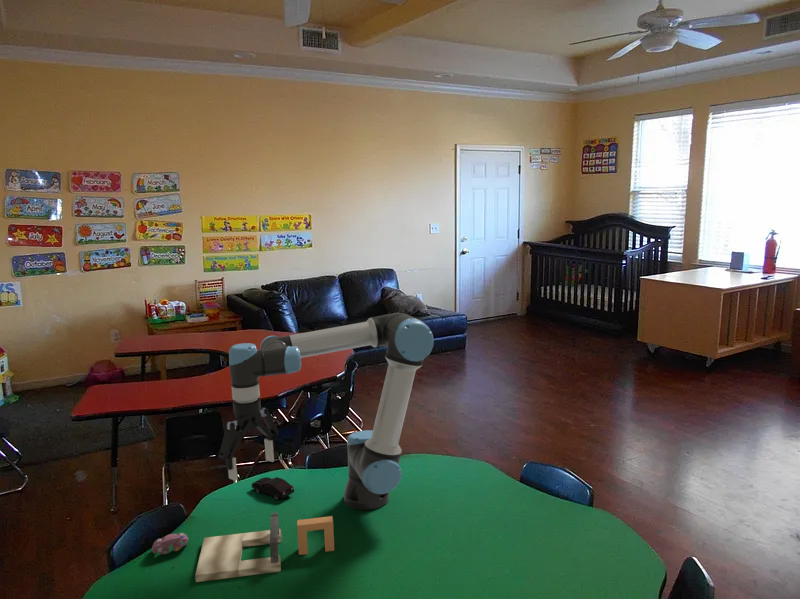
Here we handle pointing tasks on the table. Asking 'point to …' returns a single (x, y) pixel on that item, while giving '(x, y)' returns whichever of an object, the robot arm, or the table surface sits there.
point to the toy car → (273, 487)
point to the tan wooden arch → (315, 524)
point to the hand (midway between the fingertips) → (252, 469)
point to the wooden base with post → (238, 554)
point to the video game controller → (170, 543)
